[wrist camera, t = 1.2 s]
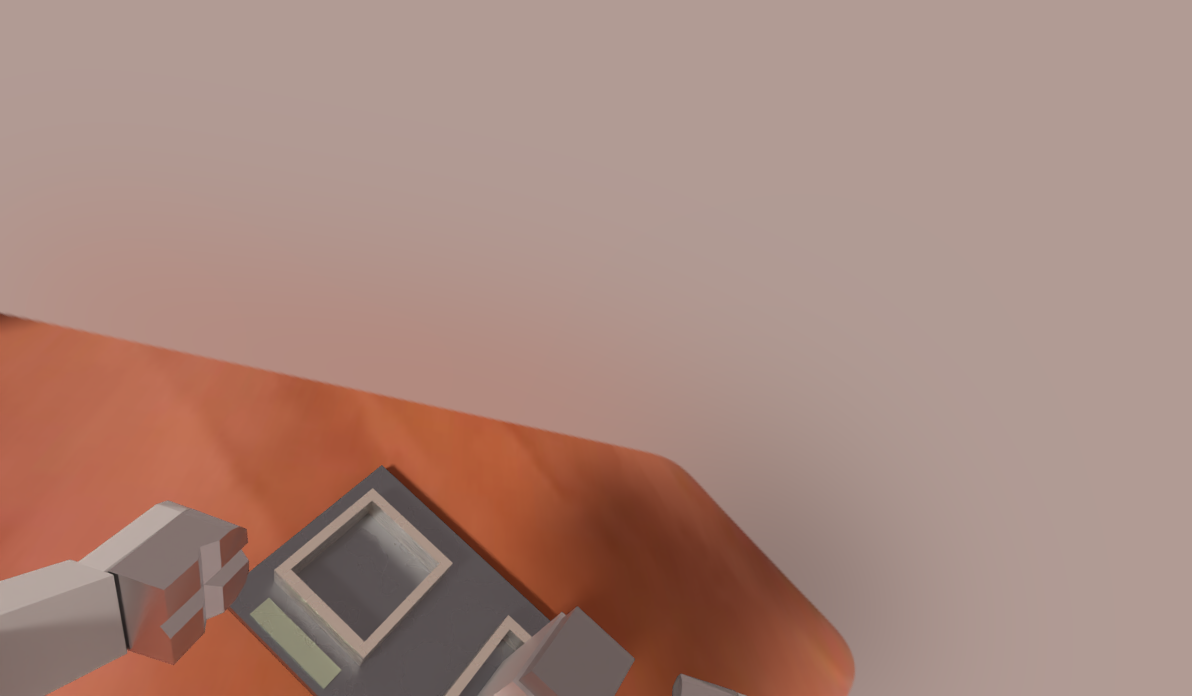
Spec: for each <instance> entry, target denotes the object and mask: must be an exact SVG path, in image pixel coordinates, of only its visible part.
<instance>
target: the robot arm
mask: <svg viewBox="0 0 1192 696" xmlns="http://www.w3.org/2000/svg"><path fill="white" fill-rule="evenodd" d="M247 543H248V538H247V529H245V528H243V527H240V526H237V525H235V524H232V523H229V522H227V521H224V520H221V519H218V518H216V517H213V516H210V515H208V514H205V513H202V512H199V511H197V510H194V509H191V508H188V507H186V506H183V505H180V504H177V503H174V502H171V501H165V502H162V503H159V504H156V505H155V506H153V507H152V508H151V509H149V510H148V511H146V512H145V513H144V514H142V515H141V516H140V517H138V518H137V519H136V520H134V521H133V522H132V523H130V524H129V525H127V526H126V527H125V528H123V529H122V530H121V531H119V532H118V533H117V534H115V535H114V536H112V537H111V538H110V539H108V540H107V541H106V542H104V543H103V544H102V545H100V546H99V547H98V548H96V549H95V550H93V551H92V552H91V553H89V554H88V555H87V556H85V557H84V558H83V559H81V560H80V561H79V562H77V561H74V560H67V561H64V562H60V563H57V564H54V565H51V566H48V567H44V568H41V569H38V570H35V571H32V572H28V573H25V574H22V575H19V576H15V577H12V578H9V579H6V580H3V581H0V696H45V695H47V694H49V693H51V692H53V691H55V690H57V689H58V688H60V687H62V686H64V685H66V684H68V683H70V682H72V681H74V680H76V679H78V678H80V677H82V676H84V675H86V674H88V673H90V672H92V671H94V670H96V669H98V668H99V667H101V666H103V665H105V664H107V663H109V662H111V661H113V660H115V659H117V658H119V657H121V656H123V655H125V654H127V650H129V651H132V652H135V653H138V654H141V655H144V656H147V657H150V658H153V659H156V660H159V661H162V662H166V663H169V664H172V665H174V664H175V663H176V662H177V661H178V660H179V659H180V658H181V657H182V656H183V655H184V654H185V653H186V652H187V651H188V650H189V649H190V648H191V646H192V645H193V644H194V643H195V642H196V641H197V640H198V639H199V638H200V637H201V636H202V635H203V634H204V633H205V626H206V620H207V619H209V618H211V617H214V616H216V615H218V614H221V613H223V612H225V611H226V609H227V608H228V607H229V606H230V605H231V604H232V603H233V602H234V601H235V600H236V598H237V597H238V595H239V593H240V591H241V590H242V588H243V586H244V585H245V583H246V579H247V576H248V572H249V560H248V559H247V557H246V556H245V554H244V553H243V551H242V550H241V549H242V548H243V547H244V546H245V545H246V544H247ZM672 696H746V695H743V694H740V693H736V692H735V691H734V690H731V689H728V688H724V687H721V686H718V685H715V684H712V683H709V682H706V681H703V680H699V679H696V678H693V677H690V676H687V675H684V674H680V675H679V676H678V677H677V679H676V681H675V683H674V685H673V691H672Z"/></svg>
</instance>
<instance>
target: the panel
mask: <svg viewBox="0 0 1192 696" xmlns="http://www.w3.org/2000/svg"><path fill="white" fill-rule="evenodd" d="M227 609H228V610H229V611H230V612H231V613H232V614H233V615H234V616H235V617H236V618H237V619H238V620H239V621H240V622H241V623H242V624H243V625H244V626H245V627H246V628H247V629H248V630H249V631H250V632H251V633H252V634H253V635H254V636H255V637H256V638H257V639H258V640H259V641H260V642H261V643H262V644H263V645H264V646H265V647H266V648H267V649H268V650H269V651H270V652H271V653H272V654H273V655H274V656H275V657H276V658H277V659H278V660H279V661H280V662H281V663H282V664H283V665H284V666H285V667H286V668H287V669H288V670H289V671H290V672H291V673H292V674H293V675H294V677H295V678H296V679H297V680H298V681H299V682H300V683H301V684H302V685H303V686H304V687H305V688H306V689H307V690H308V691H309V692H310V693H311V694H312V695H313V696H477V695H478V694H479V693H480V691H481V690H482V689H483V687H484V686H485V685H486V683H487V682H488V681H489V679H490V678H491V677H492V675H493V674H494V673H495V671H496V670H497V668H498V667H499V666H500V664H501V663H502V662H503V661H504V660H505V659H506V658H508V657H509V656H510V655H511V654H512V653H514V652H515V651H516V650H517V649H518V648H519V647H521V646H522V645H523V644H524V643H525V642H527V641H528V640H529V639H530V638H531V637H533V636H534V635H535V634H536V633H537V632H539V631H540V630H541V629H542V628H543V627H544V626H546V625H547V624H548V623H549V622H550V620H549V619H548V618H546V617H545V616H544V615H543V614H542V613H541V612H540V611H539V610H538V609H537V608H536V607H535V606H533V605H532V604H531V603H530V602H529V601H528V600H527V599H526V598H525V597H524V596H523V595H522V594H521V593H519V592H518V591H517V590H516V589H515V588H514V587H513V586H512V585H511V584H510V583H509V582H508V581H506V580H505V579H504V578H503V577H502V576H501V575H500V574H499V573H498V572H497V571H496V570H495V569H494V568H492V567H491V566H490V565H489V564H488V563H487V562H486V561H485V560H484V559H483V558H482V557H481V556H479V555H478V554H477V553H476V552H475V551H474V550H473V549H472V548H471V547H470V546H469V545H468V544H466V543H465V542H464V541H463V540H462V539H461V538H460V537H459V536H458V535H457V534H456V533H455V532H454V531H452V530H451V529H450V528H449V527H448V526H447V525H446V524H445V523H444V522H443V521H442V520H441V519H439V518H438V517H437V516H436V515H435V514H434V513H433V512H432V511H431V510H430V509H429V508H428V507H426V506H425V505H424V504H423V503H422V502H421V501H420V500H419V499H418V498H417V497H416V496H415V495H414V494H412V493H411V492H410V491H409V490H408V489H407V488H406V487H405V486H404V485H403V484H402V483H401V482H399V481H398V480H397V479H396V478H395V477H394V476H393V475H392V474H391V473H390V472H389V471H388V470H387V469H385V468H384V467H383V466H382V465H381V466H380V467H379V468H378V469H376V470H375V471H374V472H373V473H371V474H370V475H369V476H368V477H366V478H365V479H364V480H363V481H362V482H360V483H359V484H358V485H357V486H355V487H354V488H353V489H352V490H350V491H349V492H348V493H347V494H345V495H344V496H343V497H342V498H340V499H339V500H338V501H337V502H336V503H334V504H333V505H332V506H331V507H329V508H328V509H327V510H326V511H324V512H323V513H322V514H321V515H319V516H318V517H317V518H316V519H314V520H313V521H312V522H311V523H310V524H308V525H307V526H306V527H305V528H303V529H302V530H301V531H300V532H298V533H297V534H296V535H295V536H293V537H292V538H291V539H290V540H288V541H287V542H286V543H285V544H284V545H282V546H281V547H280V548H279V549H277V550H276V551H275V552H274V553H272V554H271V555H270V556H269V557H267V558H266V559H265V560H264V561H262V562H261V563H260V564H259V565H257V566H256V567H255V568H254V569H253V570H251V571H250V572H249V573H248V576H247V579H246V583H245V585H244V586H243V588H242V590H241V591H240V593H239V595H238V597H237V598H236V600H235V601H234V602H233V603H232V604H231V605H230V606H229V607H228V608H227Z"/></svg>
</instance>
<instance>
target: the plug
mask: <svg viewBox="0 0 1192 696" xmlns="http://www.w3.org/2000/svg"><path fill="white" fill-rule="evenodd" d="M634 660H635V658H634V657H632V656H631V655H630V654H629V653H628V652H627V651H626V650H625V649H624V648H623V647H621V646H620V645H619V644H618V643H617V642H616V641H615V640H614V639H613V638H612V637H611V636H609V635H608V634H607V633H606V632H605V631H604V630H603V629H602V628H601V627H600V626H599V625H597V624H596V623H595V622H594V621H593V620H592V619H591V618H590V617H589V616H588V615H586V614H585V613H584V612H583V611H582V610H581V609H580V608H579V607H578V606H577V607H575V608H574V609H573V610H572V611H570V612H569V613H568V614H567V615H565V614H564V613H563V612H561V613H560V614H559V615H558V616H556V617H555V618H554V619H553V620H552V621H550V622H549V623H548V624H547V625H546V626H544V627H543V628H542V629H541V630H540V631H539V632H537V633H536V634H535V635H534V636H533V637H531V638H530V639H529V640H528V641H527V642H525V643H524V644H523V645H522V646H521V647H519V648H518V649H517V650H516V651H515V652H514V653H512V654H511V655H510V656H509V657H508V658H506V659H505V660H504V661H503V662H502V663H501V664H500V666H499V667H498V668H497V670H496V671H495V673H494V674H493V675H492V677H491V678H490V679H489V681H488V682H487V683H486V685H485V686H484V687H483V689H482V690H481V691H480V693H479V694H478V695H477V696H614V695H615V694H616V692H617V690H618V688H619V687H620V685H621V683H622V681H623V680H624V678H625V676H626V674H627V673H628V671H629V669H630V667H631V665H632V664H633V662H634Z"/></svg>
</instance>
